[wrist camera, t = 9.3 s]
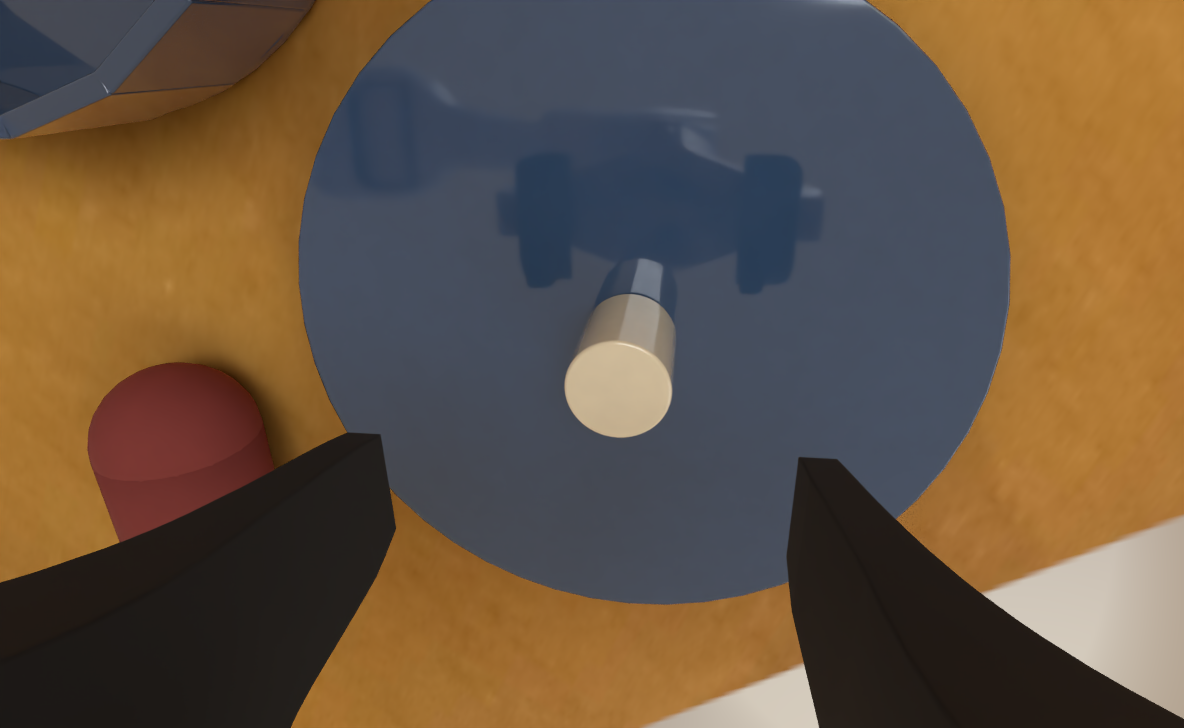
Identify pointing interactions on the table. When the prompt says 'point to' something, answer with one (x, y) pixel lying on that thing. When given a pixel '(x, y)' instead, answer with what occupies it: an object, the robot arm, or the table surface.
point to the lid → (651, 278)
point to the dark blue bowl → (127, 57)
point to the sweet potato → (174, 444)
